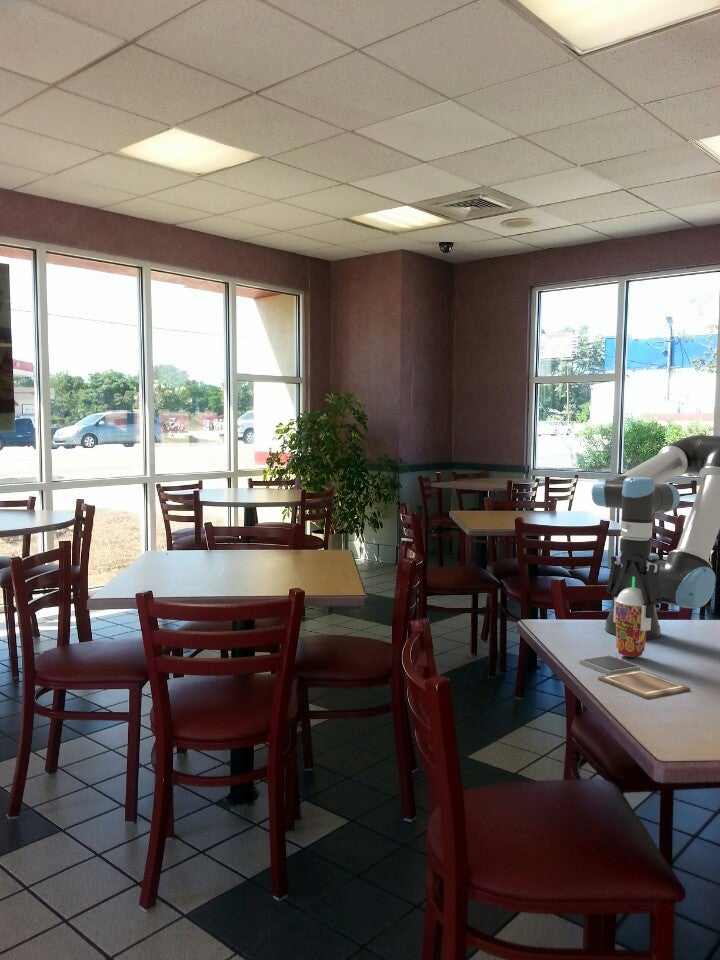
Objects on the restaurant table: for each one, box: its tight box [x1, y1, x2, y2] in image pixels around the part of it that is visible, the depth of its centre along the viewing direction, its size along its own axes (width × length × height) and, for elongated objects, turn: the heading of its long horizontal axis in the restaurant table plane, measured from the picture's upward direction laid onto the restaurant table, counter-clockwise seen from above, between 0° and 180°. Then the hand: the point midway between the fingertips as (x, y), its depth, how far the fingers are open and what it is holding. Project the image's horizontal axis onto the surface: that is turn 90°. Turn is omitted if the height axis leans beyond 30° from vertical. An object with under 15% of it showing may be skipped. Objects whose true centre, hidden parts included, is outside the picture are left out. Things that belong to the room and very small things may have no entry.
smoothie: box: [615, 577, 647, 658], centre depth 197 cm, size 8×8×20 cm
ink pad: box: [579, 654, 641, 675], centre depth 189 cm, size 10×10×1 cm
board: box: [597, 669, 691, 700], centre depth 176 cm, size 14×14×1 cm
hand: (631, 625), depth 197 cm, fingers closed on smoothie, 8 cm apart
